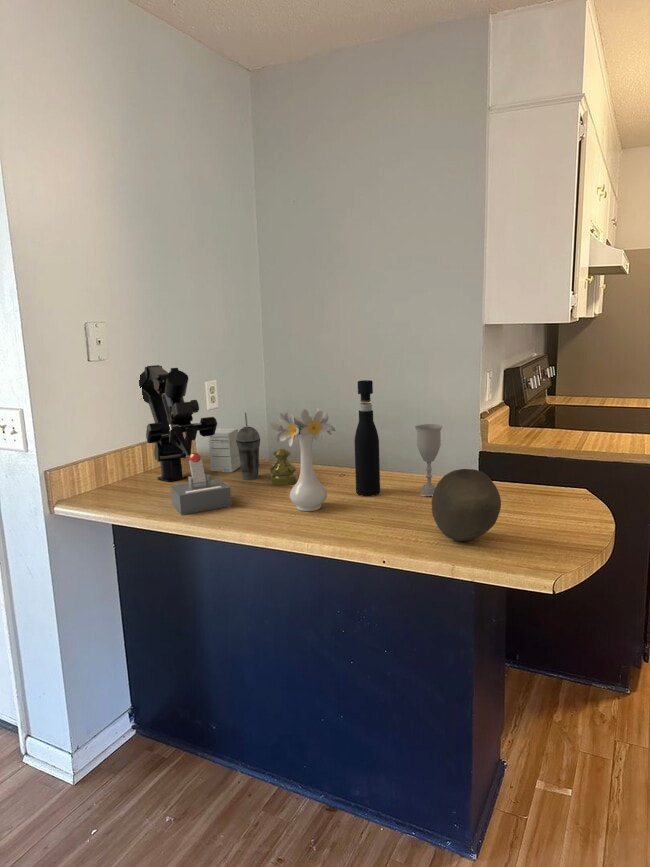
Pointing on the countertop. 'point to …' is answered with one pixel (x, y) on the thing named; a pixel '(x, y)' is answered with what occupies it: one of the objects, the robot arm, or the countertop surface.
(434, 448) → the chalice
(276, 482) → the salt shaker
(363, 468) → the black bottle
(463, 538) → the dark brown ball
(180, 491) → the switch box
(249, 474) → the beverage cup
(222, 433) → the supplement box
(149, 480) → the countertop surface
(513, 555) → the countertop surface
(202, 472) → the switch lever
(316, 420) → the flower vase
